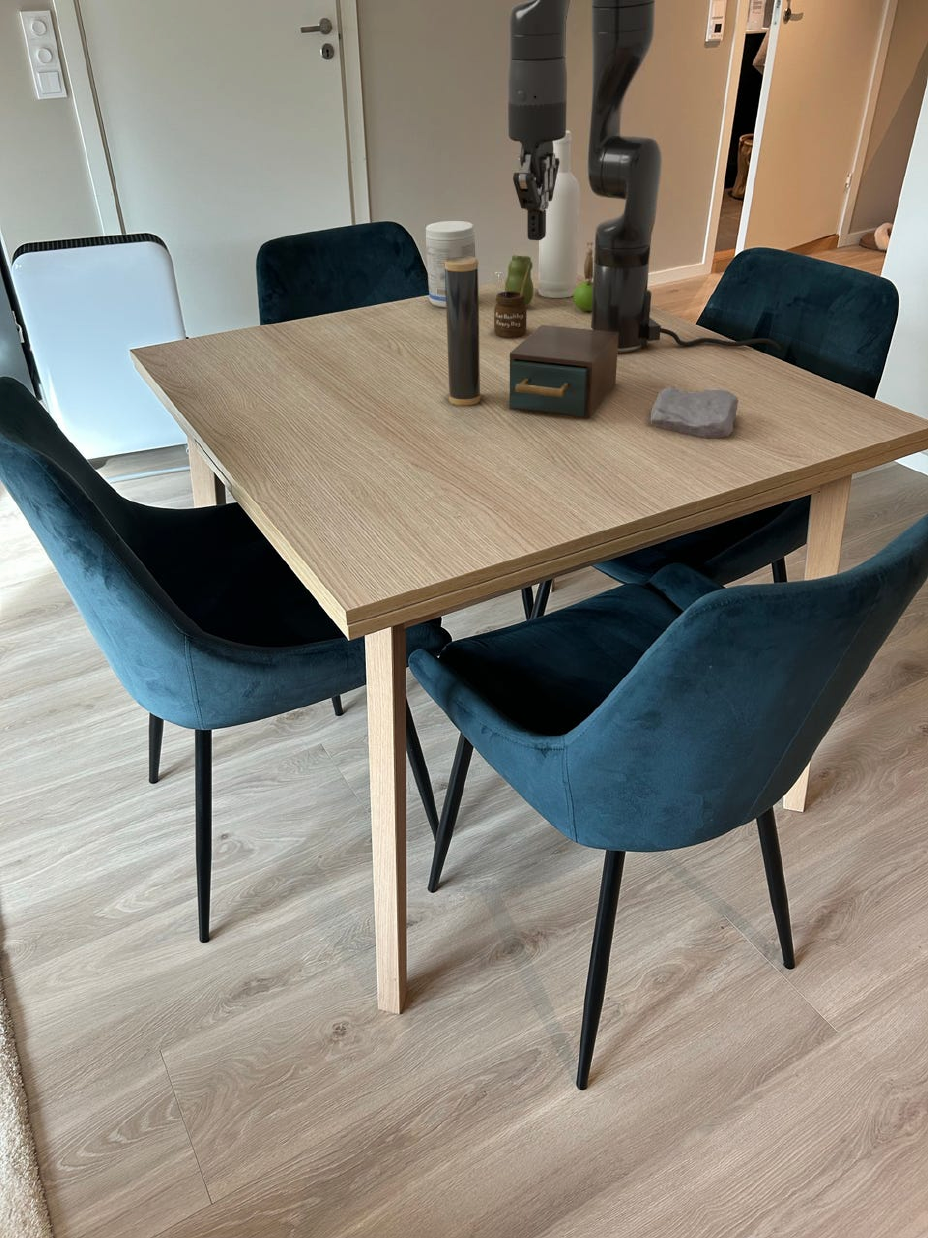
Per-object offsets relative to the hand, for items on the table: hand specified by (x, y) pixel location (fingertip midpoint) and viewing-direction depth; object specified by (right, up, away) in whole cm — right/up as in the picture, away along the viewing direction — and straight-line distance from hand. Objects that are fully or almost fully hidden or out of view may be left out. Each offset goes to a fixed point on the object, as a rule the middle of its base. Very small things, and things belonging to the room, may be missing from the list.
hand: (536, 238), depth 135 cm
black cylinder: (-10, -19, +16) cm, 27 cm away
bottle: (+9, +14, +65) cm, 67 cm away
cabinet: (+5, -18, +16) cm, 25 cm away
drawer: (+4, -20, +13) cm, 24 cm away
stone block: (+23, -25, +6) cm, 34 cm away
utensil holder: (-1, -1, +44) cm, 44 cm away
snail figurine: (+14, +7, +55) cm, 57 cm away
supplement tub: (-12, +11, +61) cm, 64 cm away
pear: (+1, +9, +58) cm, 58 cm away
